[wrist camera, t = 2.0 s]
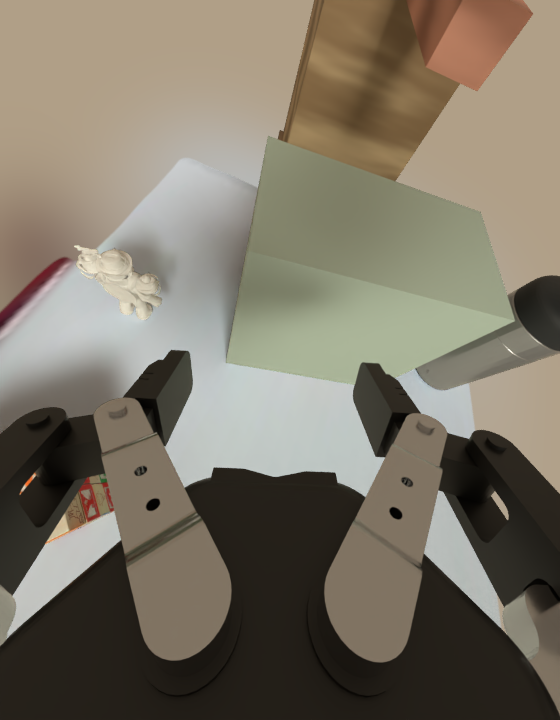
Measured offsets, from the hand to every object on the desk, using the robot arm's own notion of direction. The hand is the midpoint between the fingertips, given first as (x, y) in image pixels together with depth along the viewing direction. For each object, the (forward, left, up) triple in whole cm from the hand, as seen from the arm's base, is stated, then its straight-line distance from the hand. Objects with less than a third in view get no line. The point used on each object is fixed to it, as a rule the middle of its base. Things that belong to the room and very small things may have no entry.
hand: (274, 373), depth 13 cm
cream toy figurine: (+13, -18, -25) cm, 33 cm away
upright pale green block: (-13, -15, -25) cm, 32 cm away
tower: (-11, -30, -25) cm, 40 cm away
